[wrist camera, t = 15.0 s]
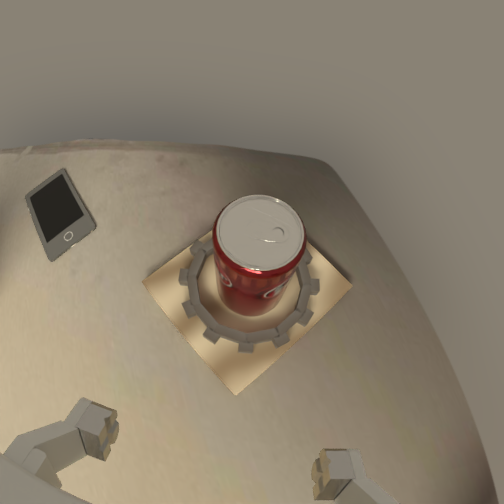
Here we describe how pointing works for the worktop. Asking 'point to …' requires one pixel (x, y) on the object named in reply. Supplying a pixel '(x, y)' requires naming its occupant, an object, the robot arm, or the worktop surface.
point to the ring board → (237, 326)
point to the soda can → (256, 252)
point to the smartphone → (58, 214)
